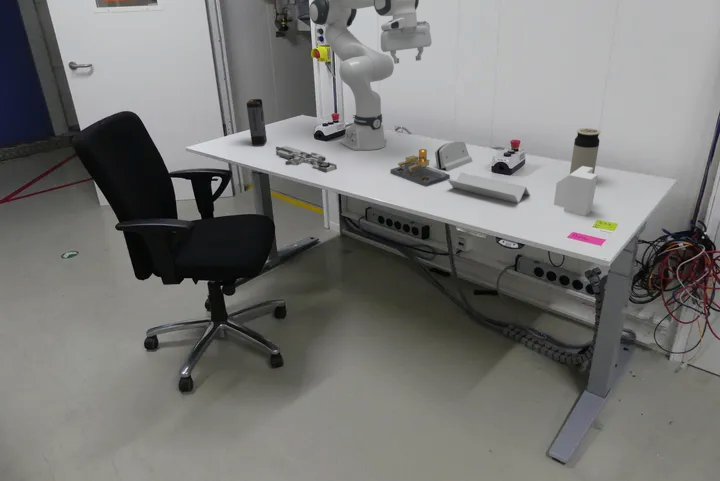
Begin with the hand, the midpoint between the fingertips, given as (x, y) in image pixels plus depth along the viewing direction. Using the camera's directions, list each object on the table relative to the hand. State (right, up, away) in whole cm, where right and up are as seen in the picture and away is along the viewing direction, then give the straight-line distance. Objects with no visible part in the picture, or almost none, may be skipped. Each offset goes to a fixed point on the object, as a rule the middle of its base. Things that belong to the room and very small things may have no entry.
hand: (407, 61), depth 200 cm
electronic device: (-66, -23, +48) cm, 85 cm away
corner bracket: (+50, -58, -33) cm, 83 cm away
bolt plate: (+4, -44, -1) cm, 44 cm away
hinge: (+19, -38, +9) cm, 44 cm away
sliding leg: (+4, -42, -1) cm, 42 cm away
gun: (-44, -35, +22) cm, 60 cm away
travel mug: (+61, -47, -12) cm, 78 cm away
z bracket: (+26, -53, -19) cm, 62 cm away
